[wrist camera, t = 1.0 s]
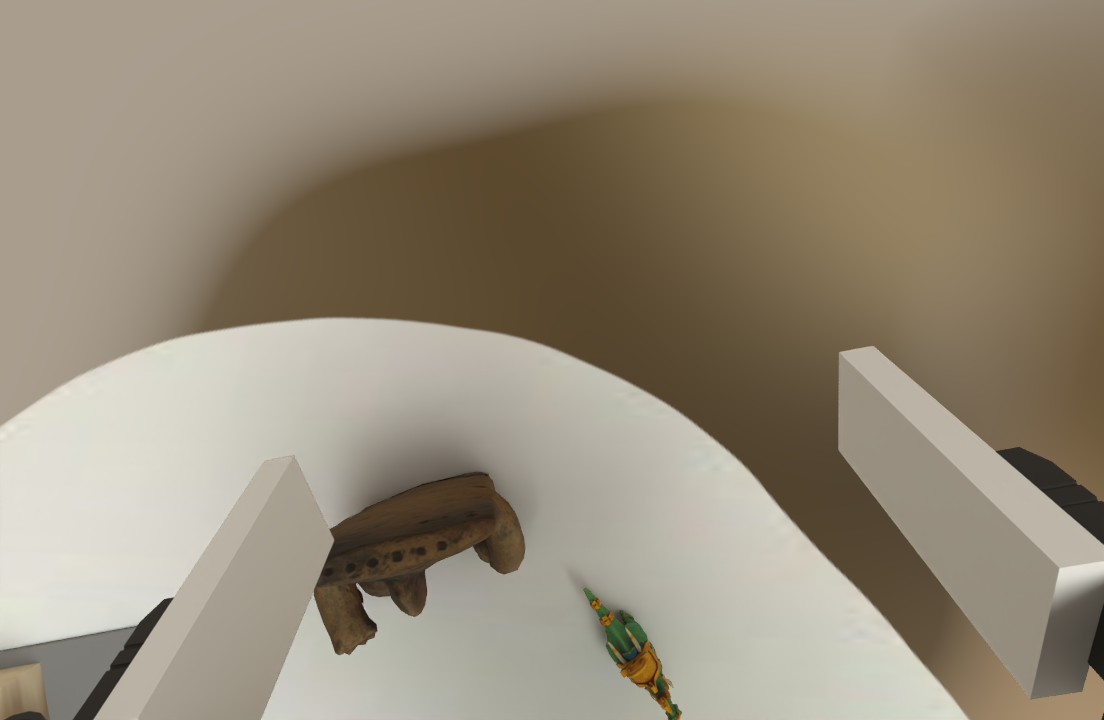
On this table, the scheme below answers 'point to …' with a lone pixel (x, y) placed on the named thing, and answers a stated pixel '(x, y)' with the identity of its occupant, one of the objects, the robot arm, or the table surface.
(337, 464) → the table surface
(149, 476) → the table surface
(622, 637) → the figurine
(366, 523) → the figurine
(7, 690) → the beech block
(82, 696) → the rubber mat
